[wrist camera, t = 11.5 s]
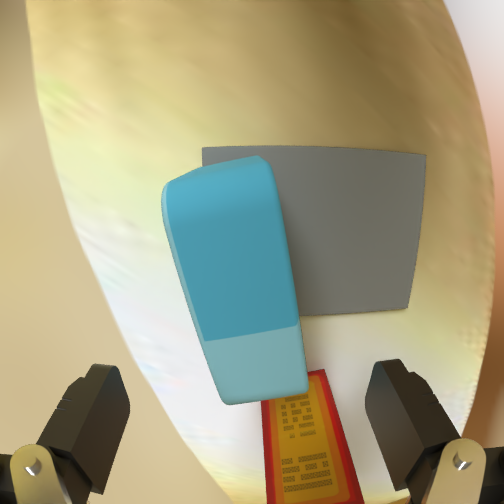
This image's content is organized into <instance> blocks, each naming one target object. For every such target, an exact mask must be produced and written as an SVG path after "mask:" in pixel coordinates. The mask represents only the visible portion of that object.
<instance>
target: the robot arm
mask: <svg viewBox="0 0 504 504" xmlns="http://www.w3.org/2000/svg"><path fill="white" fill-rule="evenodd" d="M365 408H366V413H367V416H368V418H369V421H370V423H371V426H372V429H373V431H374V434H375V436H376V439H377V442H378V444H379V447H380V450H381V452H382V455H383V458H384V461H385V463H386V466H387V469H388V472H389V474H390V477H391V480H392V483H393V486H394V489H395V491H399V490H403V489H406V488H408V490H409V492H410V496H409V497H408V499H407V501H406V503H405V504H504V447H496V448H484V449H483V448H482V447H481V446H480V445H479V444H478V443H477V442H475V441H473V440H470V439H465V438H463V439H462V438H461V437H460V435H459V434H458V432H457V430H456V429H455V427H454V425H453V424H452V422H451V420H450V419H449V417H448V415H447V414H446V412H445V410H444V409H443V407H442V405H441V404H439V401H438V399H437V397H436V396H435V394H433V391H432V390H431V388H430V386H429V385H428V383H427V382H426V380H424V379H423V378H422V377H420V376H419V375H418V374H416V373H415V372H408V371H407V369H406V367H405V366H404V364H403V363H402V361H401V360H400V359H393V360H386V361H379V362H376V363H375V365H374V367H373V371H372V375H371V378H370V382H369V386H368V389H367V393H366V397H365ZM129 414H130V402H129V398H128V395H127V392H126V390H125V387H124V384H123V381H122V378H121V375H120V372H119V369H118V368H117V367H116V366H112V365H102V364H93V365H92V366H91V368H90V369H89V371H88V373H87V374H86V376H85V378H83V377H80V378H78V379H77V380H76V381H75V382H73V383H72V384H71V385H70V386H69V387H68V389H67V390H66V392H65V394H64V395H63V397H62V400H60V402H59V404H58V406H57V409H55V411H54V412H53V414H52V416H51V418H50V419H49V421H48V423H47V425H46V427H45V428H44V430H43V432H42V434H41V436H40V438H39V440H38V441H37V443H36V444H29V445H25V446H23V447H21V448H19V449H18V450H17V451H16V452H15V453H14V454H13V455H7V454H0V504H90V503H89V501H88V497H89V494H90V492H94V493H98V494H102V495H103V493H104V490H105V486H106V483H107V480H108V477H109V474H110V471H111V468H112V465H113V462H114V458H115V455H116V452H117V450H118V447H119V443H120V441H121V438H122V435H123V432H124V429H125V426H126V424H127V420H128V418H129Z"/></svg>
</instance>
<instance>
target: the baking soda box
mask: <svg viewBox="0 0 504 504" xmlns="http://www.w3.org/2000/svg"><path fill="white" fill-rule="evenodd" d="M307 375H308V382H309V389H308V391H307V392H306V393H303V394H298V395H292V396H287V397H281V398H276V399H269V400H263V401H261V411H262V428H263V445H264V462H265V478H266V495H267V504H364V500H363V496H362V492H361V489H360V485H359V482H358V478H357V475H356V471H355V468H354V465H353V461H352V458H351V454H350V451H349V448H348V444H347V441H346V438H345V434H344V431H343V428H342V424H341V421H340V418H339V415H338V411H337V408H336V405H335V402H334V398H333V395H332V392H331V389H330V386H329V383H328V380H327V376H326V373H325V370H324V369H322V370H317V371H311V372H307Z"/></svg>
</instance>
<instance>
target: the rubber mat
mask: <svg viewBox="0 0 504 504" xmlns="http://www.w3.org/2000/svg"><path fill="white" fill-rule="evenodd" d="M256 155H258V156H260V157H261V158H263V159H264V160H266V161H267V162H269V163H270V165H271V167H272V170H273V173H274V177H275V181H276V185H277V189H278V194H279V199H280V204H281V210H282V215H283V221H284V226H285V232H286V238H287V244H288V249H289V255H290V261H291V267H292V274H293V280H294V286H295V292H296V299H297V305H298V312H299V316H309V315H327V314H343V313H357V312H369V311H381V310H392V309H403V308H408V303H409V298H410V293H411V288H412V282H413V277H414V271H415V265H416V259H417V252H418V245H419V237H420V229H421V221H422V211H423V200H424V187H425V170H426V155H421V154H413V153H403V152H394V151H383V150H371V149H357V148H340V147H318V146H227V147H204V148H202V165H203V167H204V166H208V165H213V164H217V163H222V162H226V161H231V160H236V159H241V158H246V157H251V156H256Z"/></svg>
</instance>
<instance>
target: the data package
mask: <svg viewBox="0 0 504 504" xmlns="http://www.w3.org/2000/svg"><path fill="white" fill-rule="evenodd" d="M161 206H162V216H163V222H164V226H165V230H166V234H167V238H168V241H169V245H170V248H171V252H172V255H173V259H174V262H175V266H176V269H177V272H178V276H179V279H180V282H181V286H182V289H183V292H184V295H185V298H186V302H187V305H188V308H189V311H190V314H191V317H192V320H193V323H194V326H195V329H196V332H197V335H198V338H199V341H200V344H201V347H202V349H203V352H204V355H205V358H206V361H207V364H208V366H209V369H210V372H211V374H212V377H213V380H214V383H215V385H216V388H217V391H218V393H219V396H220V398H221V400H222V401H223V402H224V403H225V404H226V405H235V404H242V403H250V402H257V401H263V400H269V399H276V398H281V397H287V396H292V395H298V394H303V393H306V392H307V391H308V389H309V382H308V375H307V367H306V360H305V353H304V346H303V339H302V332H301V325H300V318H299V312H298V305H297V299H296V292H295V286H294V280H293V274H292V267H291V261H290V255H289V249H288V244H287V238H286V232H285V226H284V221H283V215H282V210H281V204H280V199H279V194H278V189H277V185H276V181H275V177H274V173H273V170H272V167H271V165H270V163H269V162H267V161H266V160H264V159H263V158H261V157H260V156H258V155H256V156H251V157H246V158H241V159H236V160H231V161H226V162H222V163H217V164H213V165H208V166H204V167H200V168H197V169H195V170H193V171H191V172H188V173H186V174H184V175H182V176H180V177H178V178H176V179H174V180H172V181H170V182H168V183H167V184H166V185H165V186H164V188H163V191H162V198H161Z"/></svg>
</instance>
